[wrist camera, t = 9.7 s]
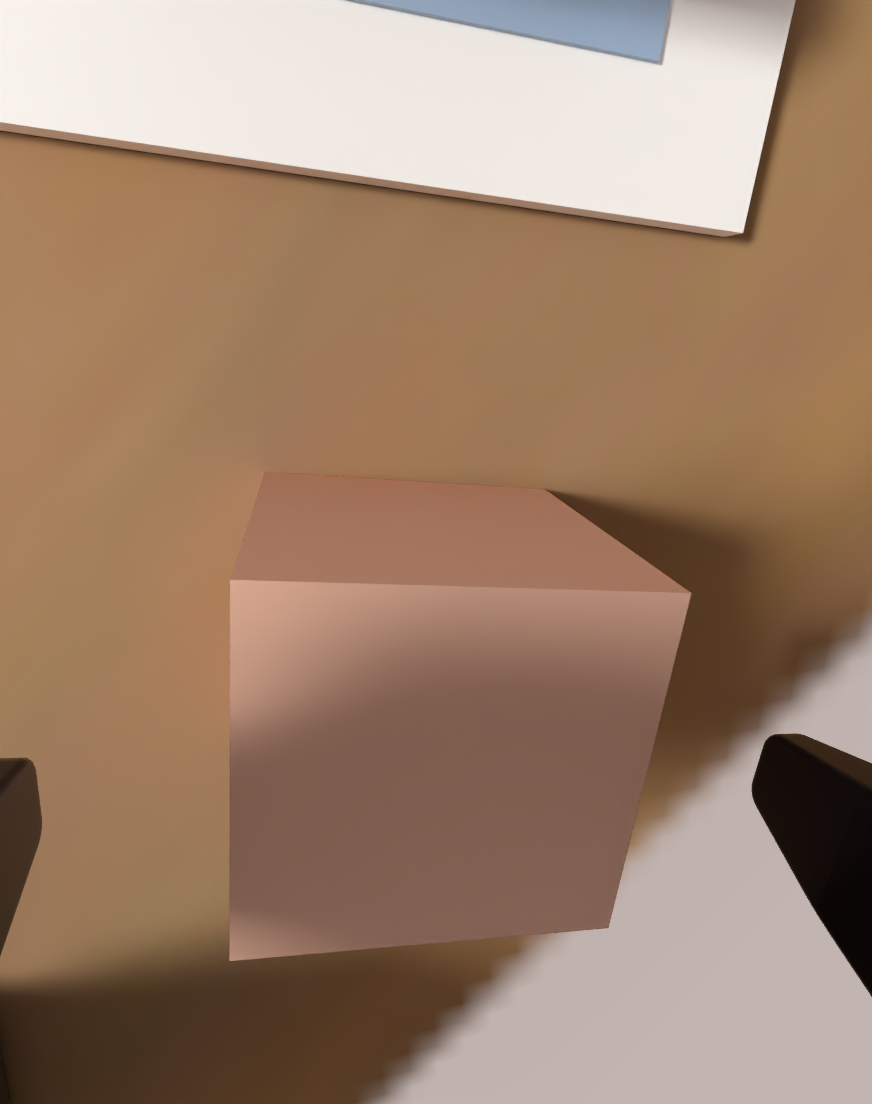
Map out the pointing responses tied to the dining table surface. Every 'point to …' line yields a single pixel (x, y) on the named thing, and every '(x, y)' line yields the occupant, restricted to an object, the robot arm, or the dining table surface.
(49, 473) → the dining table surface
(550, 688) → the terracotta cube
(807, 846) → the robot arm
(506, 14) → the board
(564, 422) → the dining table surface
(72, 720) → the dining table surface
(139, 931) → the dining table surface
